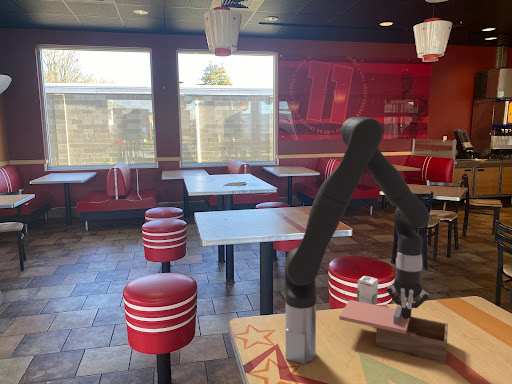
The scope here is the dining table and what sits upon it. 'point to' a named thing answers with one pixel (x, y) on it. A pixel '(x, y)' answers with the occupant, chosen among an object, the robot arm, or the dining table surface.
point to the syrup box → (367, 290)
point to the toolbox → (417, 339)
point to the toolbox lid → (375, 316)
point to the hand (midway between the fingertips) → (406, 318)
